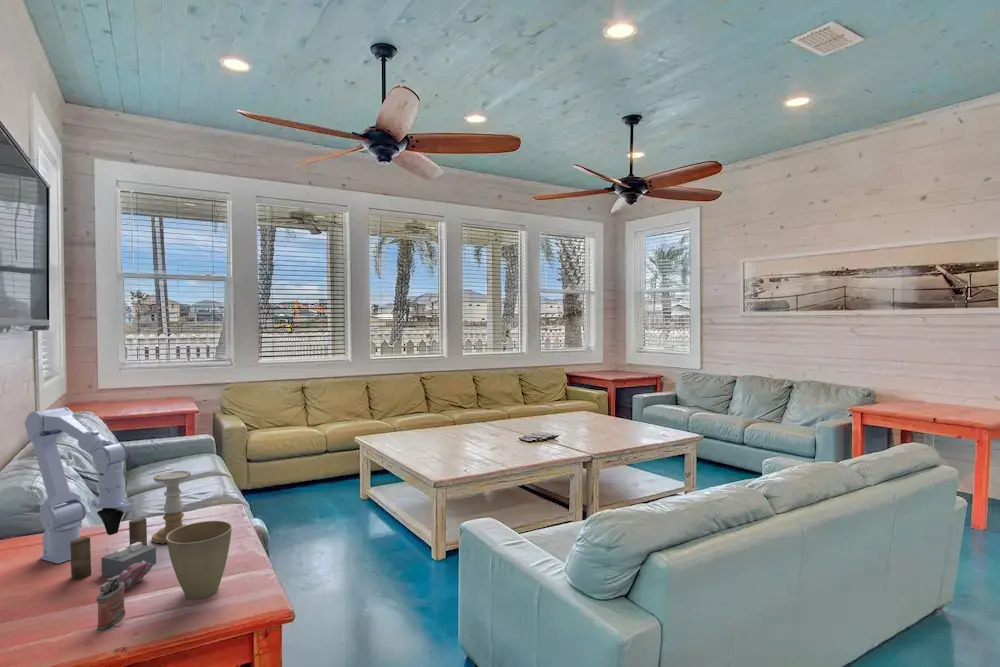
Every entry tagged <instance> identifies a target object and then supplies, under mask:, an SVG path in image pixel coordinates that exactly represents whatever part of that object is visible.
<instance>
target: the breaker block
mask: <svg viewBox="0 0 1000 667" xmlns="http://www.w3.org/2000/svg"><path fill="white" fill-rule="evenodd" d="M156 548H157V547H156V546H151V545H147V546H145V545H142V542H136V543H134V544H131V545H130V544H129V546H127V547H122V548H120V549H118V550H115V551H114V552H112V553H110V554H108V555H105V556H103V557H100V558H101V576H106V577H110V578H113V577H114V576H118V575H119V574H121V573H122V572H123V571H124V570H126V569H127V568H128V567H129V566H130V565H132V564H135V563H141V562H142V561H143V560H144V561H145V562H149V563H150V564H152V566H154V565H155V564H156V565H157V549H156Z"/></svg>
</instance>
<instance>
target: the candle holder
mask: <svg viewBox="0 0 1000 667" xmlns="http://www.w3.org/2000/svg"><path fill="white" fill-rule="evenodd" d="M191 476H192V474H191V471H188V470H175V471H174V470H172V471H167V472H161V473H158V474H156V475H155V476H153V481H154V482H155V483H159V484H161V483H162V484H163V485H164V486H165V488H166V490H165V492H164V493H163V496H164V497H165V502H164V506H163V509H162V510H163V511H164V513H165V514H164V515H163V516H162V519H163V520H164V521H165V526H164V527H162V528H160V529H159V530H158V531H156V532H154V534H153V535H152V537H151V541H152V542H153V543H154V542H155V543H154V544H157V543H161V544H160V545H165V544H164V543H167V541H166V536H167V535H168V534H169V533H170V532H171V531H173V530H175V529H177V528H179V527H182V526H185V525H187V524H184V523H183V520H182V519H183V517H184V516H185V513H184V512H182V510H183V509H184V504H183V501H182V500H181V499H182V498H181V494H182V493H183V490H181V489H180V485H181V483H182V482H183V481H184V480H186V479H189V478H190V477H191Z"/></svg>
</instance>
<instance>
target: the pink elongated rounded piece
mask: <svg viewBox="0 0 1000 667" xmlns="http://www.w3.org/2000/svg"><path fill="white" fill-rule="evenodd" d="M152 567H153V565H152V564H150V563H149V562H145V561H144V560H143V561H142V562H141V563H135V564H132V565H130V566H129V567H128V568H127V569H126V570H124V571H123V572H122V573H121V574H119V575H118V576H120V580H119V582H124V583H125V587H124V590H125V589H126V590H128V589H130V588H131V586H132V585H133V584H134V583H135V584H138V583H140V582H142V580H143V578H145V576H146V575H147V574H148V573H149V572H150V571H151V570H152Z"/></svg>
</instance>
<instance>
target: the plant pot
mask: <svg viewBox="0 0 1000 667" xmlns="http://www.w3.org/2000/svg"><path fill="white" fill-rule="evenodd" d="M232 530H233V525H232V524H231V523H230V522H227V521H224V520H206V521H205V520H204V521H198V522H192V523H189V524H186V525H185V526H182V527H179V528H177V529H175V530H173V531H171V532H170V533H169V534H168V535H167V536H166V541H167V544H166V546H167V549H168V550H167V551H168V553H169V554H168V555H169V558H170V561H171V565H172V568H173V571H174V574H175V577H176V578H177V581H178V583H179V585H180V587H181V590H182V591H183V593H184V596H185V597H186V598H187V599H189V598H191V599H192V600H196V598H200V599H202V598H201V597H204V598H206V597H205V596H207V597H209V596H208V595H210V596H212V595H214V594H215V593H216V592H217V591H218V590H219V587H220V585H221V581H222V579H223V575H224V571H225V568H226V564H227V559H228V557H229V550H230V546H231V539H232V538H231V537H232ZM214 592H215V593H214ZM213 593H214V594H213ZM211 594H212V595H211ZM191 599H190V600H191Z"/></svg>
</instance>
